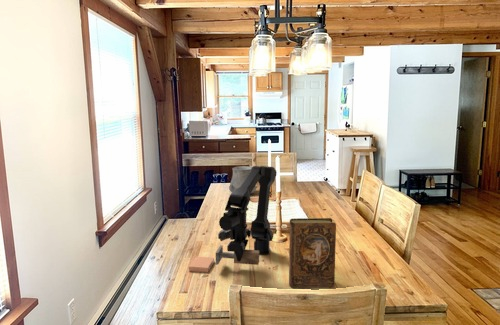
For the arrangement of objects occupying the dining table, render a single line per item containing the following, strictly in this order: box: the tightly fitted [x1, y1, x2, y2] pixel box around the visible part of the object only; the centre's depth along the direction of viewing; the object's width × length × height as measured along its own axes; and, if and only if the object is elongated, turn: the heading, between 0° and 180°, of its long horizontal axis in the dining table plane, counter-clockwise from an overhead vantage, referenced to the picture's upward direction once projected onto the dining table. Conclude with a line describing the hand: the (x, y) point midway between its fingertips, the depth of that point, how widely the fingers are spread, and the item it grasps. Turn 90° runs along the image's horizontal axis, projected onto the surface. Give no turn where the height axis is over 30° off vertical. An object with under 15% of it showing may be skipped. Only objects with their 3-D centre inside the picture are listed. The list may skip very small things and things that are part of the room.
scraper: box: [215, 244, 260, 266], centre depth 152 cm, size 17×8×5 cm, turn 81°
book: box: [288, 217, 337, 289], centre depth 138 cm, size 16×6×25 cm, turn 92°
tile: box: [188, 256, 215, 273], centre depth 155 cm, size 2×10×8 cm
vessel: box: [228, 165, 258, 194], centre depth 277 cm, size 22×22×20 cm
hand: (239, 259), depth 152 cm, fingers closed on scraper, 3 cm apart
